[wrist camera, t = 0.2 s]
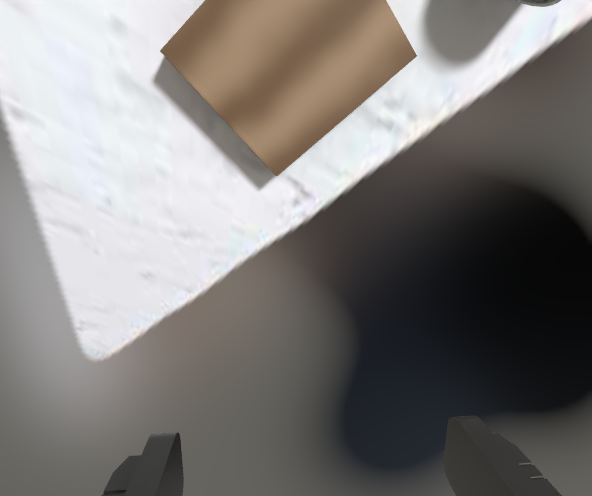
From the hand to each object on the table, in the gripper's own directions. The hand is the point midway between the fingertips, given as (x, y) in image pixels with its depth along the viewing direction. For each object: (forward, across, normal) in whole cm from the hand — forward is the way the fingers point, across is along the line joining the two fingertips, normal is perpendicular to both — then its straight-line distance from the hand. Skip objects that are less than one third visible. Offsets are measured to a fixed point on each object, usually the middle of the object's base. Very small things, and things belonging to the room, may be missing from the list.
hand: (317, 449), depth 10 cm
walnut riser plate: (+26, -1, -18) cm, 32 cm away
